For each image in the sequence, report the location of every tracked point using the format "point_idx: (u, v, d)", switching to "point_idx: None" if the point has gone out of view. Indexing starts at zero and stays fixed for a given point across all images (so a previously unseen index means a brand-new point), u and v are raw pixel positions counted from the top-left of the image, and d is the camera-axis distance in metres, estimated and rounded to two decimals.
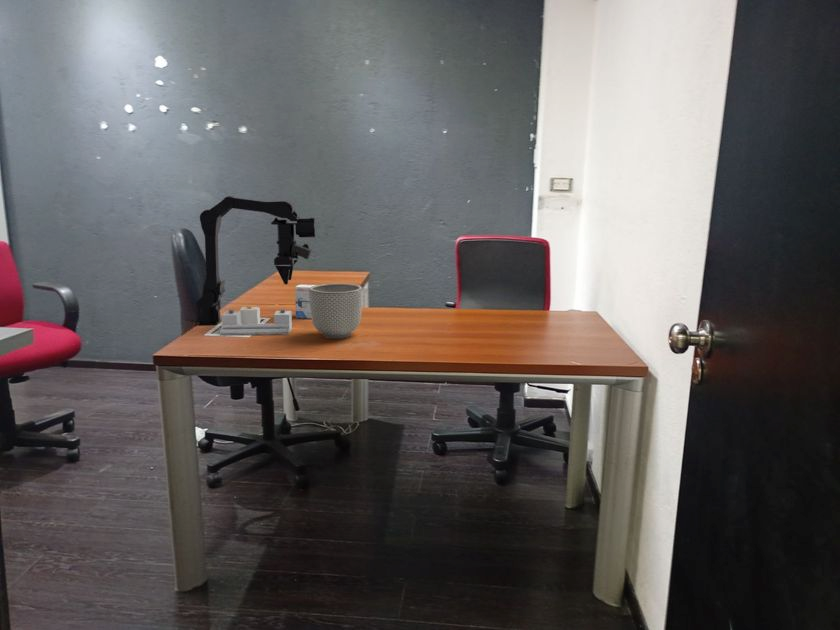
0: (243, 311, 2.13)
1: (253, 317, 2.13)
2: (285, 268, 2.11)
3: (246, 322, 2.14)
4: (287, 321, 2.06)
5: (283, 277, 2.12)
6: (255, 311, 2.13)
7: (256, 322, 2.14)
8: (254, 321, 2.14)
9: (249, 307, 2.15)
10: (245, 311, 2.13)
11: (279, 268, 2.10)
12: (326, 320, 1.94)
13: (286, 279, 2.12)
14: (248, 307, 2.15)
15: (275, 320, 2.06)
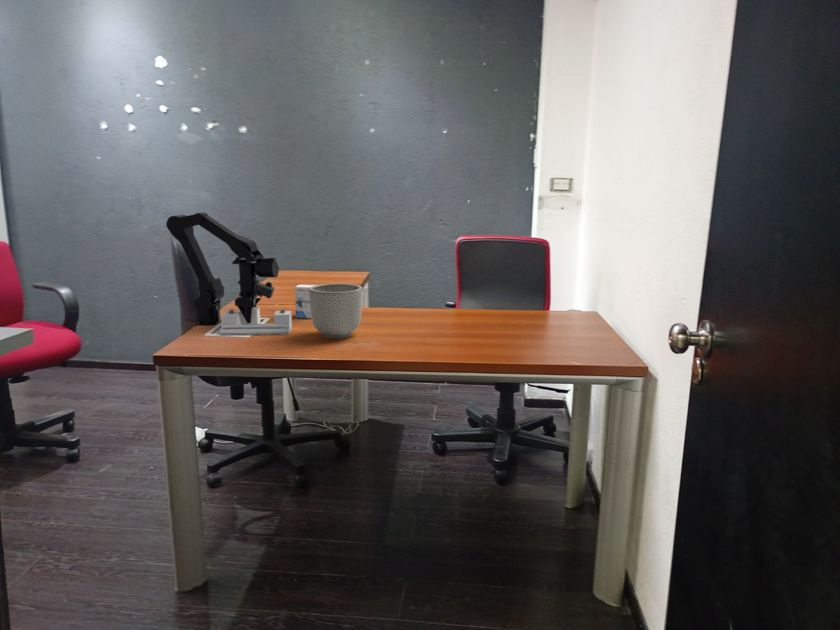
0: None
1: (253, 317, 2.13)
2: (247, 307, 2.10)
3: (246, 322, 2.14)
4: (287, 321, 2.06)
5: (245, 316, 2.11)
6: (255, 311, 2.13)
7: (256, 322, 2.14)
8: (254, 321, 2.14)
9: None
10: None
11: (241, 308, 2.10)
12: (326, 320, 1.94)
13: (249, 318, 2.12)
14: None
15: (275, 320, 2.06)
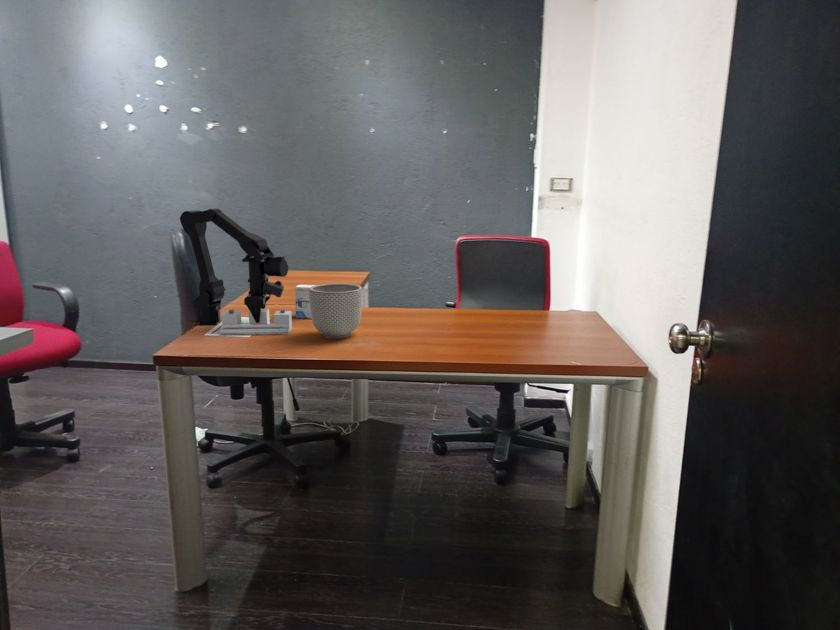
0: None
1: (262, 319, 2.10)
2: (256, 307, 2.07)
3: None
4: (287, 321, 2.06)
5: (254, 316, 2.08)
6: (264, 313, 2.10)
7: None
8: (263, 323, 2.11)
9: None
10: None
11: (250, 307, 2.06)
12: (326, 320, 1.94)
13: (258, 318, 2.08)
14: None
15: (275, 320, 2.06)
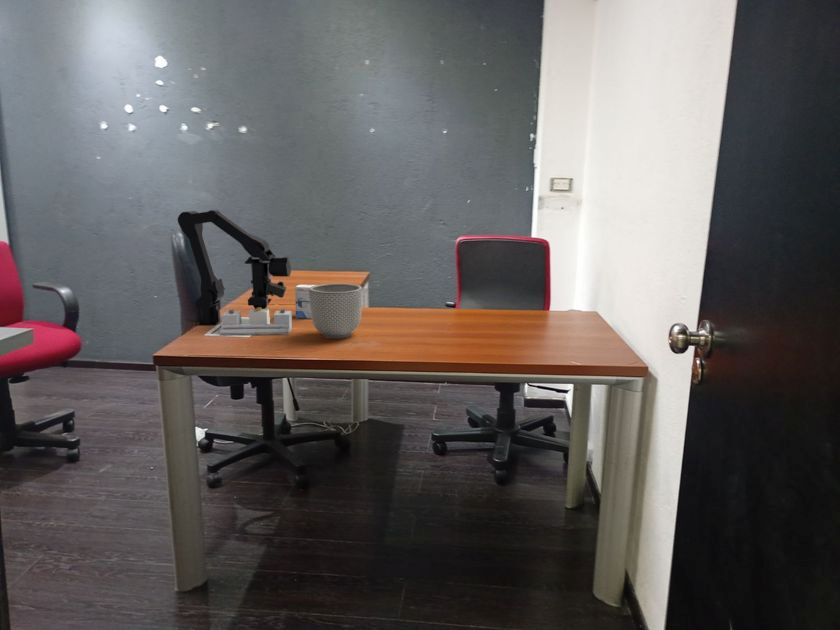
0: (252, 313, 2.09)
1: (262, 320, 2.10)
2: (261, 305, 2.15)
3: None
4: (287, 321, 2.06)
5: None
6: (265, 313, 2.09)
7: None
8: (264, 323, 2.10)
9: (258, 309, 2.11)
10: (254, 313, 2.09)
11: (255, 305, 2.14)
12: (326, 320, 1.94)
13: None
14: (257, 309, 2.11)
15: (275, 320, 2.06)
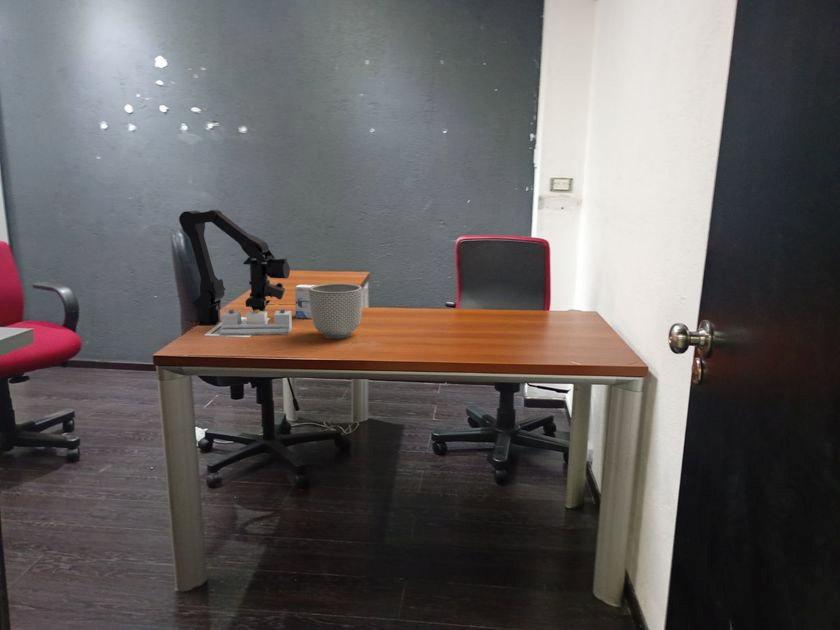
0: (250, 315, 2.06)
1: (260, 322, 2.07)
2: (260, 306, 2.13)
3: None
4: (287, 321, 2.06)
5: None
6: (262, 315, 2.06)
7: None
8: None
9: (256, 311, 2.08)
10: (252, 315, 2.06)
11: (254, 306, 2.12)
12: (326, 320, 1.94)
13: None
14: (255, 311, 2.08)
15: (275, 320, 2.06)
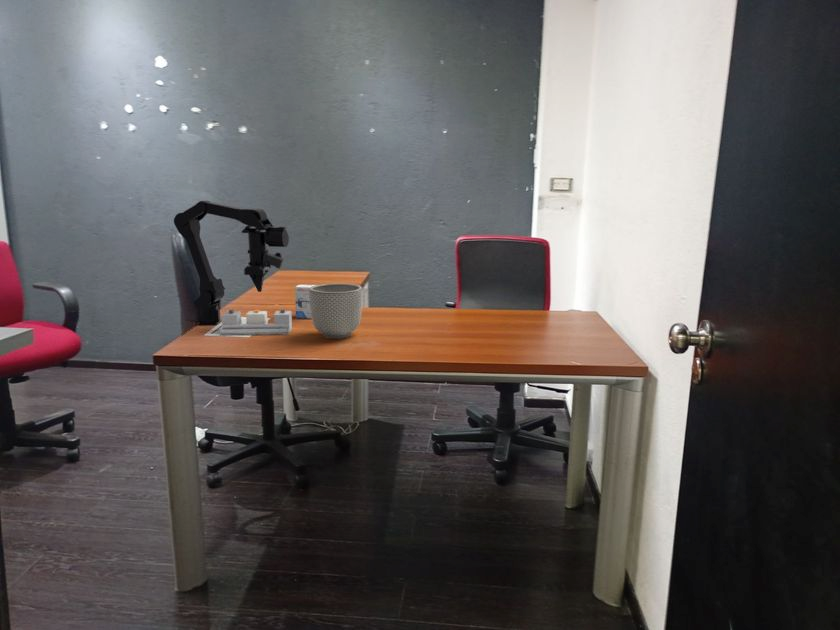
0: (250, 315, 2.06)
1: (260, 322, 2.07)
2: (258, 276, 2.11)
3: None
4: (287, 321, 2.06)
5: (256, 285, 2.11)
6: (262, 315, 2.06)
7: None
8: None
9: (256, 311, 2.08)
10: (252, 315, 2.06)
11: (252, 276, 2.10)
12: (326, 320, 1.94)
13: (260, 286, 2.12)
14: (255, 311, 2.08)
15: (275, 320, 2.06)
